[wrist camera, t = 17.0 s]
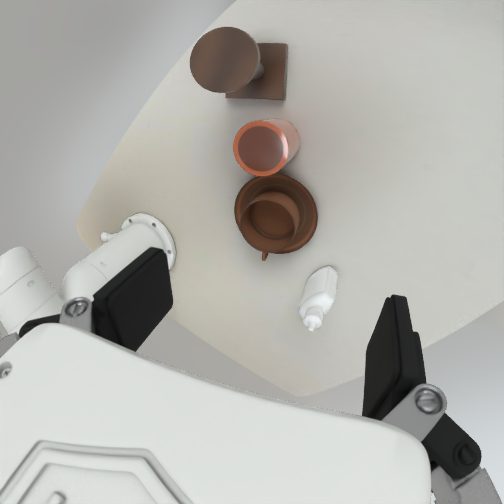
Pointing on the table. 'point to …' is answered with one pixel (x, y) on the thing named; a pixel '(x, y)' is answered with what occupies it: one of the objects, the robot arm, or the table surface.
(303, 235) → the cup and saucer
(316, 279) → the eye dropper bottle
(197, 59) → the cat scratching post
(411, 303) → the table surface
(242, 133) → the terracotta cup
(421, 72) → the table surface
